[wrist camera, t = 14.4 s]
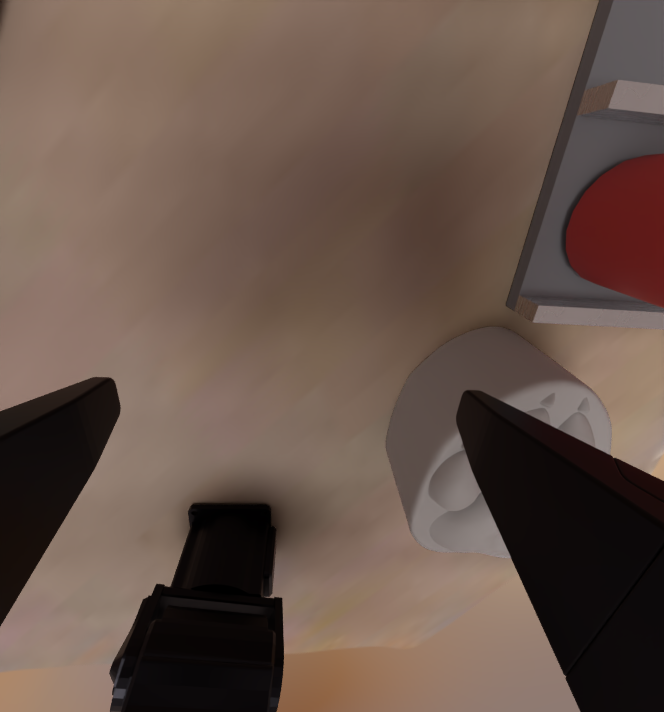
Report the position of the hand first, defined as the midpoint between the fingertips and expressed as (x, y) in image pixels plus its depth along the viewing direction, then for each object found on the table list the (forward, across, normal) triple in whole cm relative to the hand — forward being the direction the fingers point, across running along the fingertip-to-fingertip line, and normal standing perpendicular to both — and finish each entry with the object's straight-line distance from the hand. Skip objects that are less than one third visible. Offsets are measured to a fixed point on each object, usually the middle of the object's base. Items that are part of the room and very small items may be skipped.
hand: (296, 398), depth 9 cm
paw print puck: (+13, -12, +9) cm, 20 cm away
